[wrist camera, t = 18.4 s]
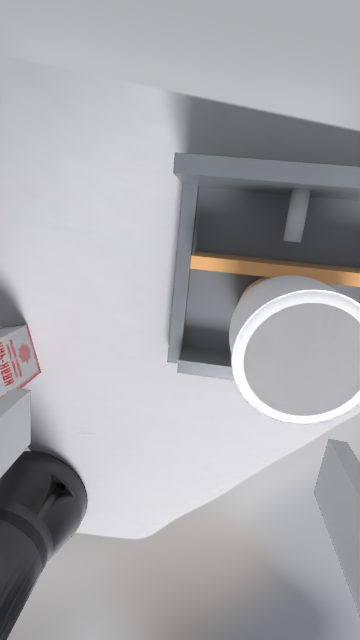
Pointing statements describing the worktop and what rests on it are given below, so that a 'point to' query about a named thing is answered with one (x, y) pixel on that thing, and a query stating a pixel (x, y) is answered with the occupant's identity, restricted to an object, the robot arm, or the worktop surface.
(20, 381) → the white red carton
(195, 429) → the worktop surface
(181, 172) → the tray
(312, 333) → the jar
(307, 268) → the plate
